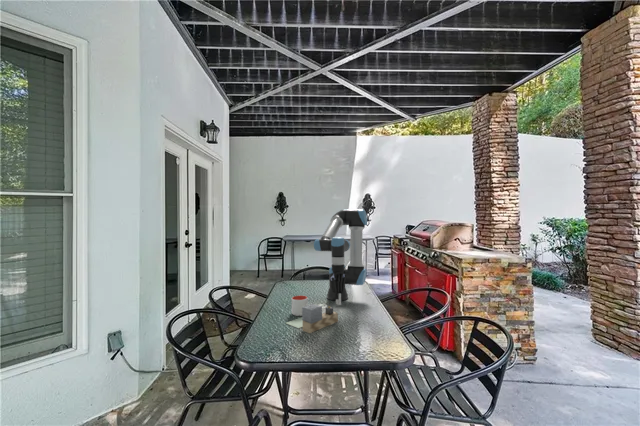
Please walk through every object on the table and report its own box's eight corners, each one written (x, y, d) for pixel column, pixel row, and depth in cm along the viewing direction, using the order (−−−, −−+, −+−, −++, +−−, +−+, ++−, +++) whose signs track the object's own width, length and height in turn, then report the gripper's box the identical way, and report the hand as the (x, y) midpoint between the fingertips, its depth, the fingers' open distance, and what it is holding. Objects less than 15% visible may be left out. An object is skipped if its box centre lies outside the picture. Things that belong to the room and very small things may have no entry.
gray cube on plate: (313, 316, 161) (312, 303, 161) (322, 319, 156) (322, 306, 156) (302, 320, 155) (302, 307, 155) (311, 323, 150) (311, 310, 150)
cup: (305, 317, 174) (305, 300, 174) (289, 316, 176) (289, 299, 176) (309, 311, 184) (309, 295, 184) (294, 310, 186) (294, 295, 186)
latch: (329, 311, 167) (329, 305, 167) (333, 313, 165) (333, 306, 165) (325, 313, 165) (325, 306, 165) (329, 314, 163) (329, 307, 163)
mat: (301, 317, 173) (301, 317, 173) (314, 322, 165) (314, 321, 165) (285, 323, 164) (285, 322, 164) (298, 328, 157) (298, 328, 157)
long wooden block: (330, 319, 170) (330, 310, 170) (337, 321, 166) (337, 312, 166) (302, 330, 154) (302, 321, 154) (309, 333, 150) (309, 323, 151)
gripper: (340, 262, 178) (340, 300, 178) (325, 264, 169) (326, 305, 169) (350, 263, 173) (350, 303, 173) (335, 266, 164) (335, 308, 163)
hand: (338, 304), depth 171 cm, fingers closed
